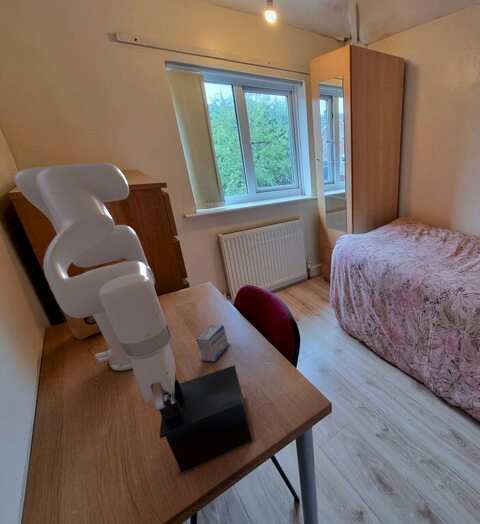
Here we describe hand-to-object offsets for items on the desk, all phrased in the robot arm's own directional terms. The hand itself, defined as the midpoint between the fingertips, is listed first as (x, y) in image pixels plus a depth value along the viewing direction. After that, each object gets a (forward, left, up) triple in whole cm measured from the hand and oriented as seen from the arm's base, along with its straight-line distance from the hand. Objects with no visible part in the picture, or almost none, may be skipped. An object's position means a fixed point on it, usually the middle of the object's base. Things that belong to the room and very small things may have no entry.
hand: (173, 405), depth 61 cm
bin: (+6, 0, -13) cm, 14 cm away
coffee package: (-31, +65, -13) cm, 73 cm away
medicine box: (+8, +30, -13) cm, 34 cm away
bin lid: (+5, 0, -1) cm, 6 cm away
